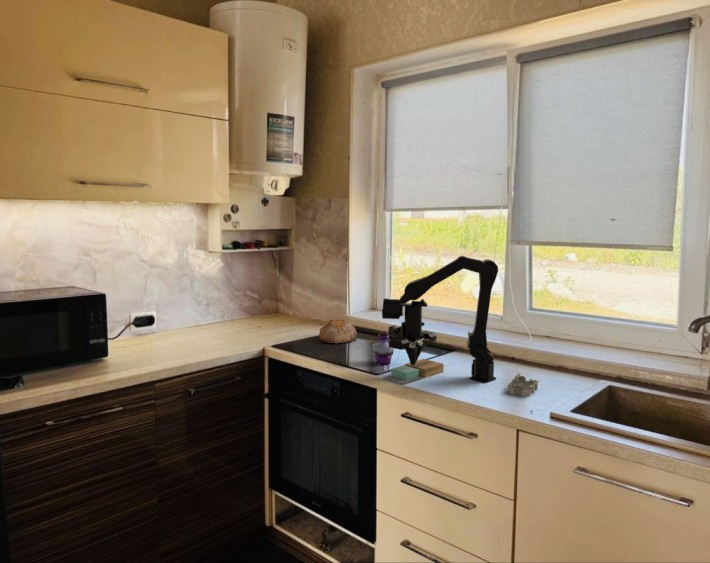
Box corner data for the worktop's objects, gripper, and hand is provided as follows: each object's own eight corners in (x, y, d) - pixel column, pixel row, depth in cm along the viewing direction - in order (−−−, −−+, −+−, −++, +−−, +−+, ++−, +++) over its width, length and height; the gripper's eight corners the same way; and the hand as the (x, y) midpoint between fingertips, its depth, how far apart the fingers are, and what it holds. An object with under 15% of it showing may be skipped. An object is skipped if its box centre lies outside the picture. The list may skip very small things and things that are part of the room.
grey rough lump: (518, 385, 177) (518, 372, 176) (541, 389, 172) (541, 376, 172) (504, 393, 168) (505, 380, 168) (528, 398, 164) (529, 384, 163)
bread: (315, 346, 231) (313, 323, 230) (325, 336, 251) (323, 315, 250) (353, 346, 229) (351, 322, 228) (360, 335, 248) (359, 313, 247)
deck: (443, 372, 190) (443, 363, 190) (424, 378, 183) (425, 369, 183) (423, 366, 196) (423, 358, 196) (404, 372, 190) (404, 363, 189)
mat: (423, 378, 182) (423, 377, 182) (403, 384, 176) (403, 383, 176) (402, 372, 189) (402, 371, 189) (382, 378, 182) (382, 377, 182)
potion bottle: (398, 362, 203) (398, 330, 202) (390, 367, 195) (390, 334, 194) (377, 359, 207) (377, 328, 205) (367, 365, 199) (368, 332, 198)
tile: (418, 376, 183) (419, 369, 183) (406, 380, 179) (406, 373, 179) (403, 372, 189) (403, 365, 188) (391, 375, 185) (391, 368, 184)
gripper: (412, 312, 195) (412, 355, 197) (376, 320, 182) (376, 365, 184) (437, 316, 187) (437, 361, 189) (401, 324, 175) (401, 372, 176)
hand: (412, 364), depth 185 cm, fingers closed
